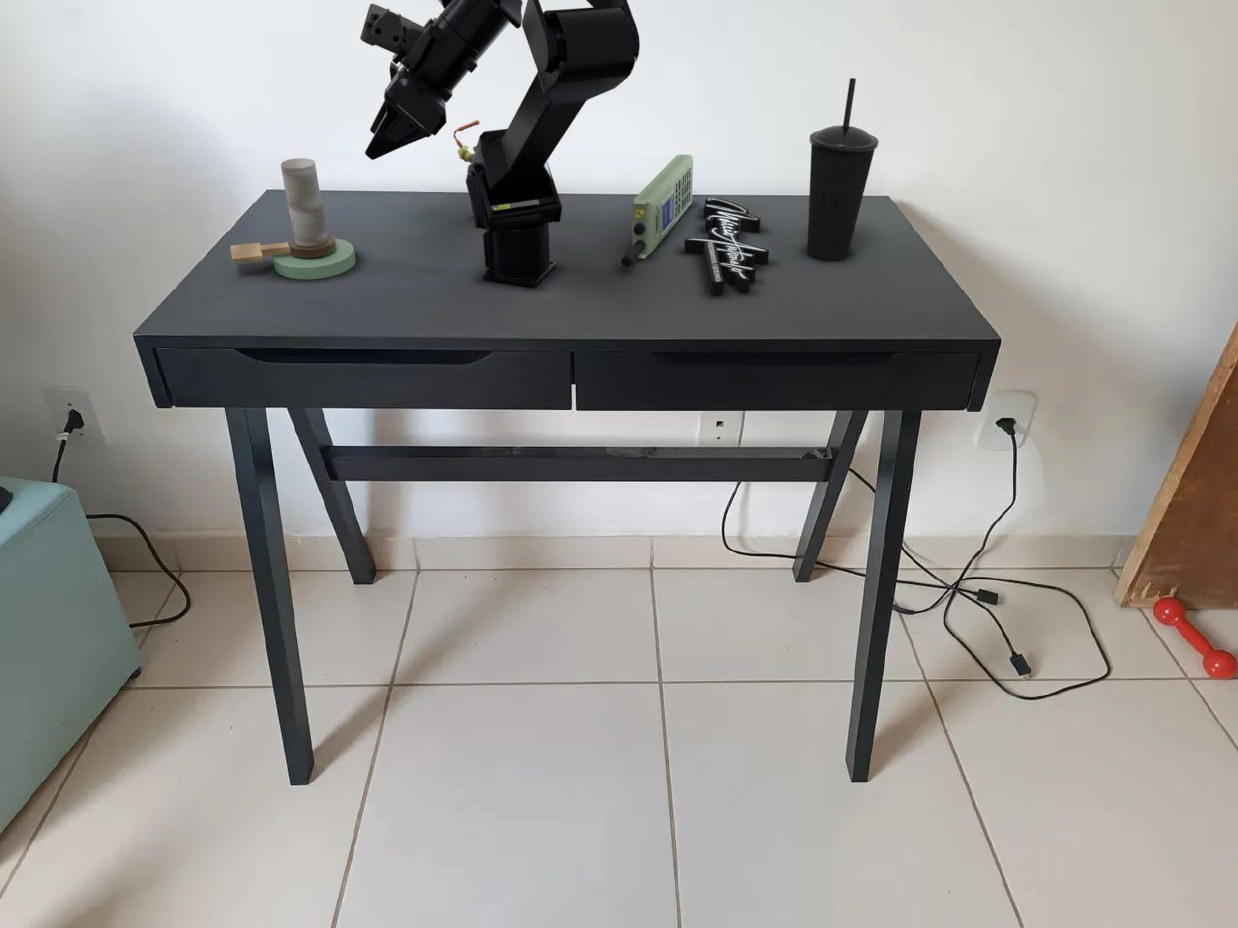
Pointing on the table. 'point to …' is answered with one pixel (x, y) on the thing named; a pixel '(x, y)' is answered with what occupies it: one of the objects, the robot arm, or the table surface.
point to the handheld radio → (660, 207)
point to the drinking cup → (837, 184)
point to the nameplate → (728, 246)
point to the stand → (316, 263)
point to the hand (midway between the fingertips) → (370, 144)
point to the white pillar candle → (296, 217)
